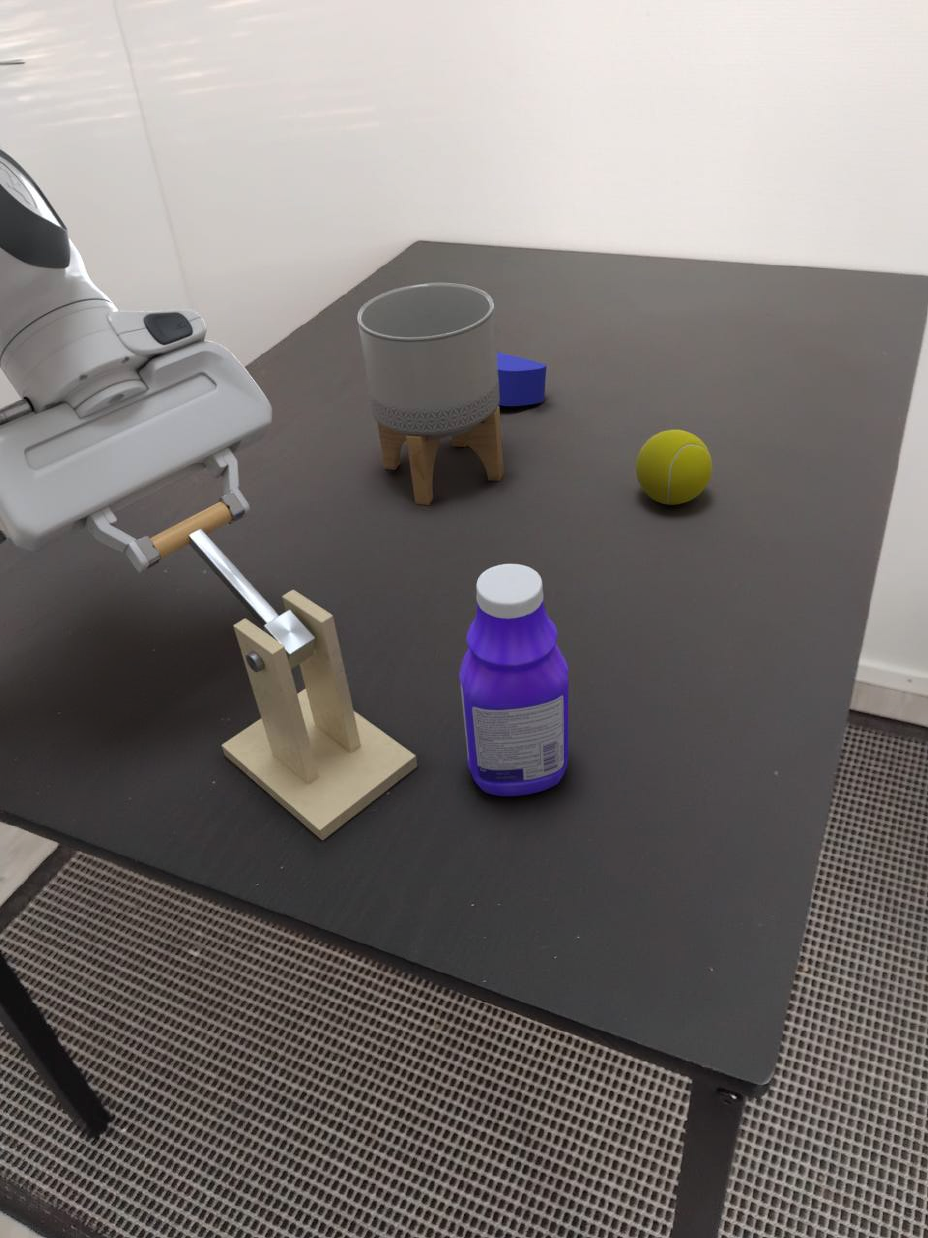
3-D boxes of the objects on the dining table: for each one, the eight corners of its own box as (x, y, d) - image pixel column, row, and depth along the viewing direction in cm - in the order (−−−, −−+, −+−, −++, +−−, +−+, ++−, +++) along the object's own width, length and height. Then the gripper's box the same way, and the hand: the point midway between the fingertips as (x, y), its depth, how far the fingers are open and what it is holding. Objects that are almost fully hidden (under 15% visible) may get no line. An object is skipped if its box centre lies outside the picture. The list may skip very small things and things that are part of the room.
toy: (450, 390, 121) (435, 415, 113) (452, 345, 118) (436, 367, 110) (547, 399, 119) (538, 424, 111) (551, 353, 116) (542, 376, 108)
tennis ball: (723, 502, 95) (729, 438, 91) (665, 526, 93) (669, 462, 88) (677, 471, 100) (681, 409, 95) (621, 493, 98) (622, 431, 93)
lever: (146, 552, 68) (145, 532, 66) (218, 514, 71) (219, 493, 69) (264, 687, 65) (266, 670, 63) (334, 641, 68) (338, 623, 66)
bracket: (224, 755, 74) (176, 616, 66) (317, 692, 79) (283, 554, 70) (322, 841, 67) (282, 698, 59) (417, 766, 72) (394, 623, 63)
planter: (482, 511, 97) (468, 342, 86) (363, 497, 101) (334, 333, 90) (518, 446, 106) (510, 285, 95) (408, 435, 110) (387, 279, 99)
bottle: (561, 735, 73) (556, 546, 62) (576, 794, 69) (575, 602, 58) (464, 749, 73) (443, 562, 62) (474, 809, 68) (453, 618, 57)
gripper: (-64, 412, 60) (65, 601, 60) (215, 302, 70) (323, 463, 71) (-62, 453, 65) (57, 626, 66) (197, 345, 76) (297, 495, 76)
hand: (197, 540), depth 68 cm, fingers closed on lever, 6 cm apart
